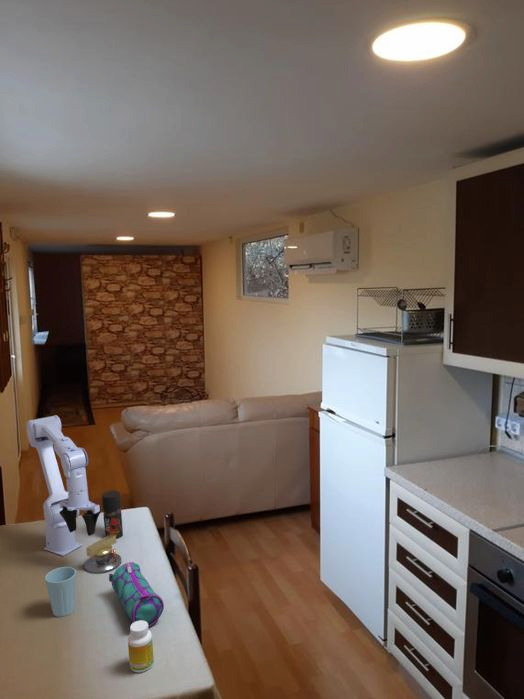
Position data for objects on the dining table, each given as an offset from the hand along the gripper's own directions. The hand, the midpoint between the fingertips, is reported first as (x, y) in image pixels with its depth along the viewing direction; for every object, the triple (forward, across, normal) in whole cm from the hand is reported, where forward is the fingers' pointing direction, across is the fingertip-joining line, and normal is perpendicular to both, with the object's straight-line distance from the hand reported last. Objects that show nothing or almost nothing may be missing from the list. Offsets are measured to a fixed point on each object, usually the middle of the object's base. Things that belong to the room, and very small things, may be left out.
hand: (82, 532), depth 167 cm
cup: (+12, +11, -19) cm, 25 cm away
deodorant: (+11, -6, +20) cm, 23 cm away
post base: (+11, +3, +4) cm, 12 cm away
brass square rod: (+7, +4, +4) cm, 9 cm away
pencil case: (+13, +28, -10) cm, 33 cm away
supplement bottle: (+14, +43, -26) cm, 52 cm away
